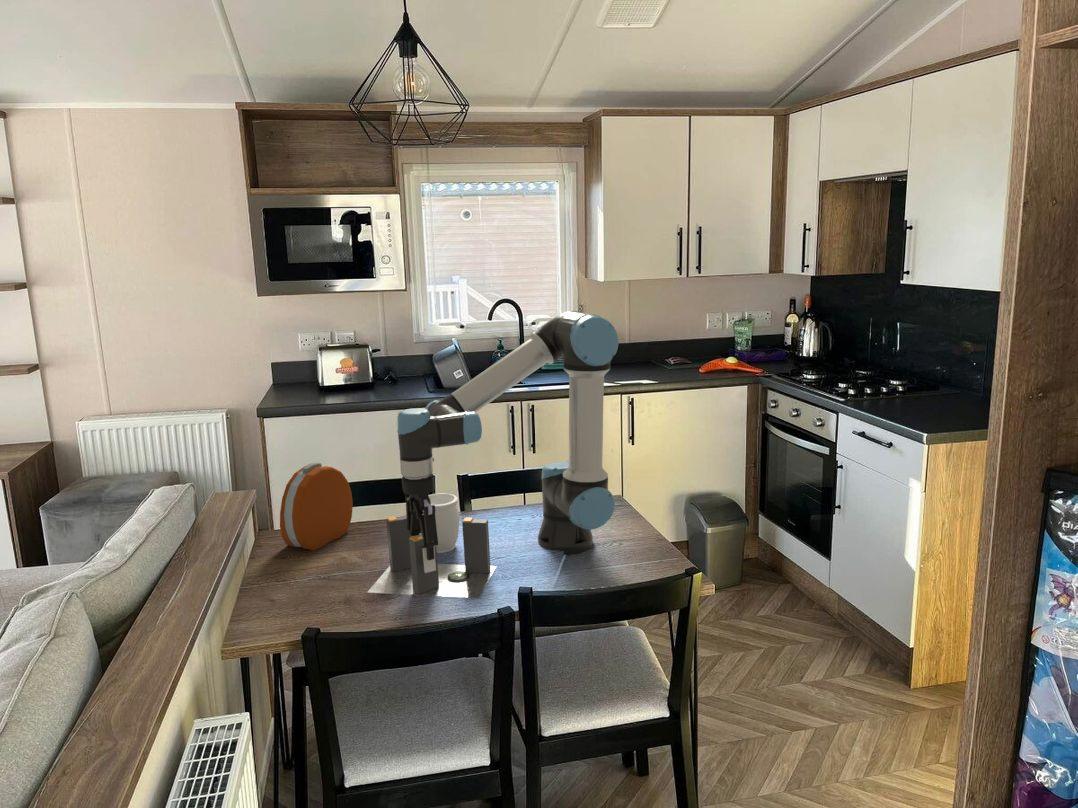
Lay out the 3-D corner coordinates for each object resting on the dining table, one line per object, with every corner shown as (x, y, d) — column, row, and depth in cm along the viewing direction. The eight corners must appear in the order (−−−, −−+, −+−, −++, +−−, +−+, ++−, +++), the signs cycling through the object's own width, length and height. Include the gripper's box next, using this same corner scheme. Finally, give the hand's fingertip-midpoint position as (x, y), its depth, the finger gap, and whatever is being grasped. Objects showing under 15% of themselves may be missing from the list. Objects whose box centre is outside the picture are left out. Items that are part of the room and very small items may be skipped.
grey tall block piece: (490, 569, 208) (487, 518, 205) (488, 573, 206) (485, 521, 203) (467, 568, 209) (464, 517, 206) (465, 572, 207) (462, 520, 204)
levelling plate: (496, 570, 210) (496, 563, 210) (479, 602, 193) (478, 594, 193) (393, 566, 215) (392, 558, 215) (367, 596, 198) (366, 589, 198)
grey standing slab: (433, 583, 201) (429, 530, 198) (439, 586, 199) (435, 533, 196) (413, 591, 197) (408, 537, 194) (418, 594, 195) (414, 540, 192)
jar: (454, 559, 218) (451, 506, 215) (417, 557, 220) (413, 505, 217) (465, 544, 228) (462, 493, 225) (430, 542, 230) (426, 492, 227)
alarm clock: (330, 523, 248) (323, 451, 243) (355, 528, 243) (349, 455, 238) (276, 550, 229) (267, 473, 224) (303, 556, 224) (295, 477, 219)
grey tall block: (412, 563, 213) (408, 513, 210) (415, 566, 211) (411, 516, 208) (390, 568, 211) (386, 517, 208) (393, 571, 209) (388, 520, 206)
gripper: (448, 482, 185) (455, 576, 190) (417, 461, 202) (423, 549, 207) (417, 488, 182) (425, 584, 187) (388, 467, 198) (395, 555, 203)
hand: (424, 565), depth 197 cm, fingers open, 7 cm apart
